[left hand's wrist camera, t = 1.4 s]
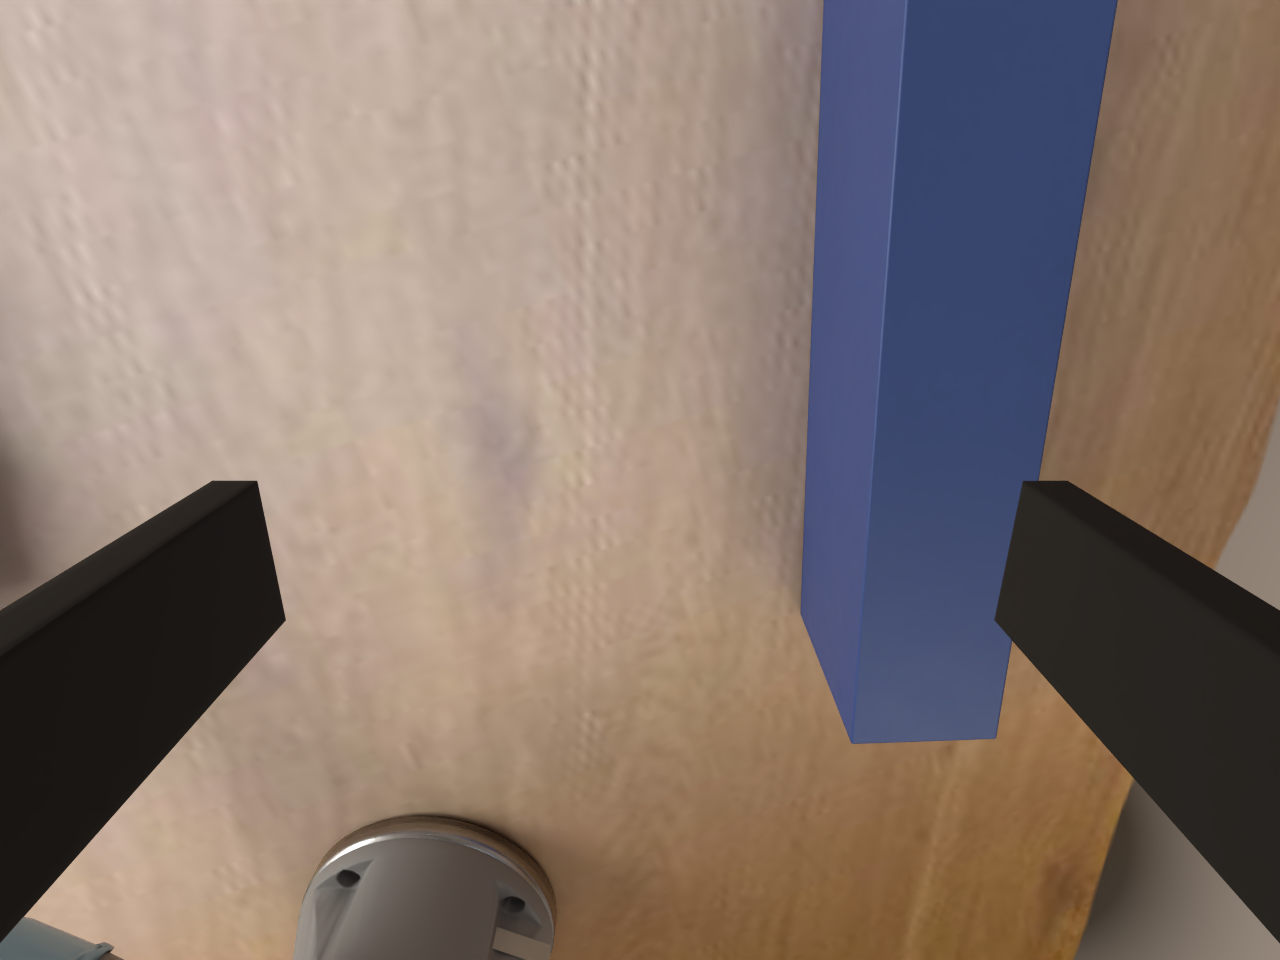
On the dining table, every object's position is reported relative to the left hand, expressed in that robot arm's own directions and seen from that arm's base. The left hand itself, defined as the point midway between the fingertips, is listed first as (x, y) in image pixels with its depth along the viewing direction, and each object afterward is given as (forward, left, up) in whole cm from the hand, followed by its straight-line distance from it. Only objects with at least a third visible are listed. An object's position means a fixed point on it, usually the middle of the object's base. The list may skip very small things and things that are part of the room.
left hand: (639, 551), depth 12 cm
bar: (+6, -9, -21) cm, 23 cm away
